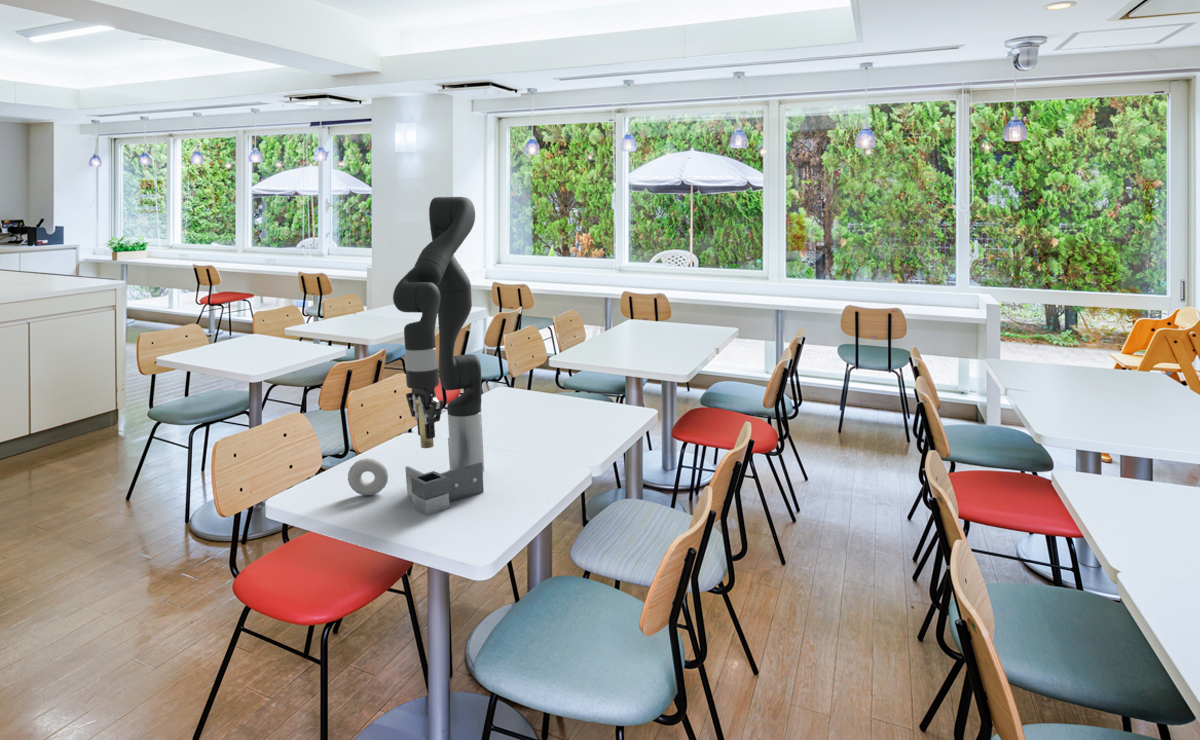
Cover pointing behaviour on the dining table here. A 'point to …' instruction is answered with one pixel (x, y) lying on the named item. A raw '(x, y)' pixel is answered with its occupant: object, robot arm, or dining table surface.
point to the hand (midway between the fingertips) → (426, 436)
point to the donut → (365, 466)
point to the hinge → (443, 487)
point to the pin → (423, 429)
